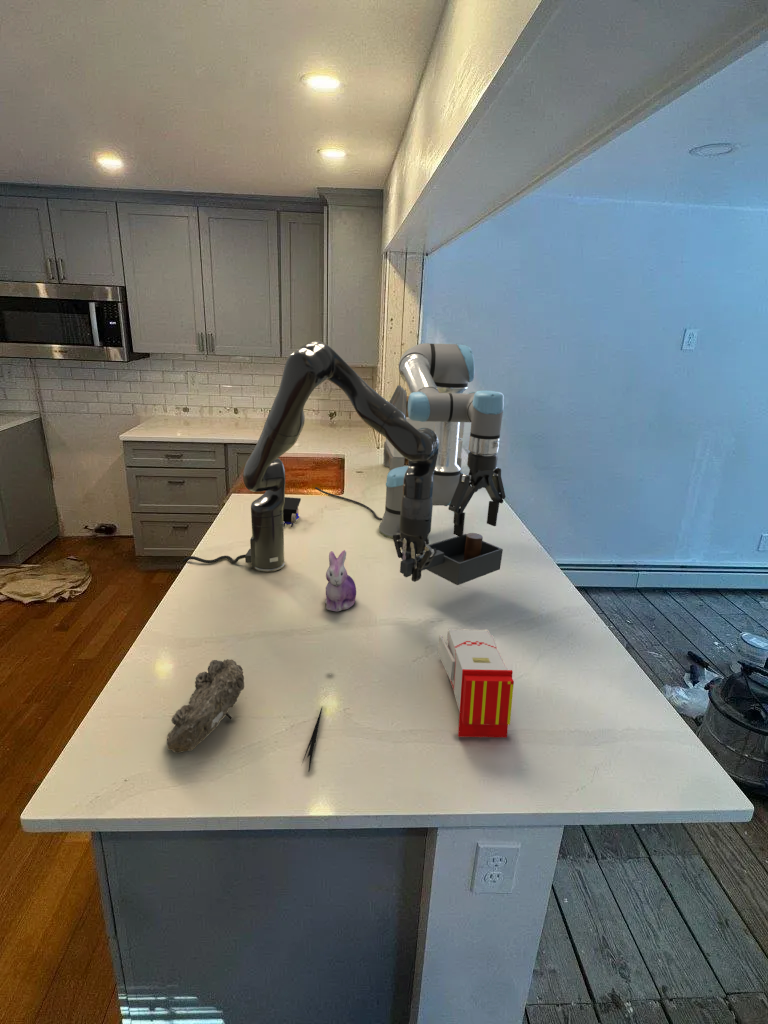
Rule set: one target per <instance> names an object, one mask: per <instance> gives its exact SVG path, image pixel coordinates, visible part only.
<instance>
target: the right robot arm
mask: <svg viewBox="0 0 768 1024" xmlns="http://www.w3.org/2000/svg"><path fill="white" fill-rule="evenodd" d="M475 365H476V364H475V357H474V352H473V350H472V348H471V347H470V346H469V345H467V344H466V345H465V344H458V343H429V342H424V343H419V344H415V345H413V346H411V347H410V348H408V349H407V350H406V351H405V352H404V353H403V354H402V355H401V357H400V359H399V361H398V372H399V375H400V377H401V379H402V380H403V381H404V382H405V383H406V384H407V388H408V390H409V393H410V394H409V395H408V396H409V398H408V416H409V418H410V419H411V420H413V421H421V422H425V421H432V422H434V432H435V434H436V435H437V437H438V441H439V450H438V457H437V462H436V467H435V471H434V477H433V495H432V501H433V506H442V507H443V506H444V507H448V508H447V509H448V510H449V511H451V512H453V520H452V523H453V532H452V534H453V535H454V536H456V537H457V536H459V537H463V534H464V531H465V530H464V528H465V519H466V518H465V517H466V512H464V511H465V509H466V508H467V506H468V504H469V502H470V501H471V499H472V497H473V496H474V495H475V493H478V491H479V490H481V489H485V491H486V492H487V494H488V496H489V498H490V499H491V500H489V501H488V508H487V517H486V525H490V526H492V527H496V526H497V521H498V513H499V507H500V504H504V500H505V499H506V492H505V487H504V483H503V479H502V469H501V468H500V467H497V465H498V457H499V456H498V453H499V448H500V447H499V446H500V438H501V430H502V421H503V415H504V414H503V413H504V409H505V396H504V394H503V393H502V392H501V391H496V390H486V389H485V390H483V389H482V390H477V391H470V392H468V393H464V391H466V390H467V389H468V388H469V387H468V385H469V383H471V382H473V381H474V378H475V373H476V366H475ZM460 422H464V423H470V432H469V440H468V451H469V452H468V453H467V463H466V465H467V467H468V469H469V471H468V474H466V473H464V472H462V467H461V468H460V467H459V466H458V465H457V453H458V441H459V428H460ZM407 469H408V466H407V465H404V466H403V467H398V468H394V469H392V470H391V471H390V470H388V473H387V475H386V482H385V487H386V488H385V489H386V490H385V504H384V505H385V507H384V508H385V509H384V513H383V515H382V517H379V516H377V514H376V512H375V511H374V510H373V509H372V508H370V507H369V506H368V505H365V504H364V503H361V502H359V501H357V500H354V499H352V498H347V497H344V496H340V495H337V494H333V493H330V492H327V491H325V490H322V489H321V488H319V487H317V486H315V487H314V489H315V490H317V491H319V492H320V493H322V494H325V495H328V496H330V497H334V498H337V499H339V500H340V499H341V500H343V501H348V502H350V503H353V504H356V505H359V506H361V507H363V508H365V509H367V510H368V511H369V512H370V513H372V516H374V518H375V519H377V520H378V521H381V522H379V526H378V533H379V534H380V535H381V536H382V537H385V538H387V539H389V540H393V535H395V534H399V533H401V531H400V513H401V501H402V496H403V482H404V475H405V473H406V471H407ZM460 471H461V472H460Z"/></svg>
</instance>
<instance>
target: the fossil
mask: <svg viewBox="0 0 768 1024" xmlns="http://www.w3.org/2000/svg"><path fill="white" fill-rule="evenodd" d="M243 670H244V669H243V667H242V665H240V664H237V662H236V661H235V660H234V659H232V658H231V659H227V658H226V659H224V660H223V661H222V660H217V659H212V660H211V661H210V663H209V665H208V666H207V671H201V672H199V673H198V674H197V675H196V676H195V680H194V684H195V685H194V687H195V689H194V690H193V693H192V694H191V697H190V698H189V700H188V704H184V705H182V706H181V707H180V709H177V710H176V711H175V713H174V715H173V716H172V718H171V723H172V724H173V727H172V730H171V731H170V732H168V734H167V738H166V741H167V742H166V745H167V749H168V750H169V751H173V752H174V753H176V754H178V753H182V752H188V751H189V752H192V751H193V750H195V748H196V747H197V746H199V744H200V743H201V742H203V741H204V740H205V739H206V738H207V737H208V736H209V735H210V734H211V733H212V732H214V730H215V729H217V727H218V726H219V724H220V722H221V721H222V720H223V719H224V718H225V716H226V717H227V719H229V720H233V717H232V715H230V714H229V710H230V709H231V708H234V706H235V704H236V703H237V702H238V699H239V697H240V695H241V693H242V691H243V690H245V689H244V688H245V675H244V671H243Z"/></svg>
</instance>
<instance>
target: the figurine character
mask: <svg viewBox="0 0 768 1024" xmlns="http://www.w3.org/2000/svg"><path fill="white" fill-rule="evenodd" d="M301 500H302V498H301V497H290V496H289V497H288V496H285V502H284V506H283V528H286V525H290V528H293V527H294V524H296V523H297V520H298V519H300V516H299V512H300V511H299V506H300V503H301Z"/></svg>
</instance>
